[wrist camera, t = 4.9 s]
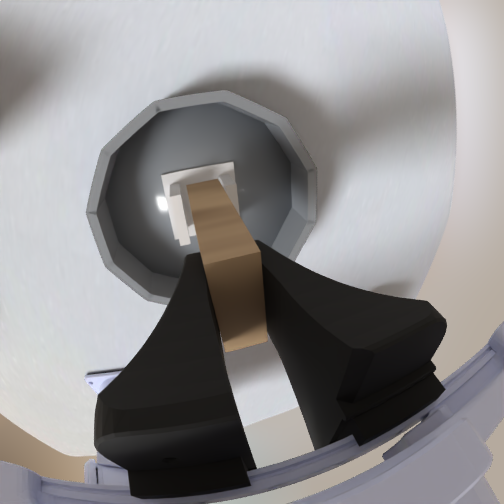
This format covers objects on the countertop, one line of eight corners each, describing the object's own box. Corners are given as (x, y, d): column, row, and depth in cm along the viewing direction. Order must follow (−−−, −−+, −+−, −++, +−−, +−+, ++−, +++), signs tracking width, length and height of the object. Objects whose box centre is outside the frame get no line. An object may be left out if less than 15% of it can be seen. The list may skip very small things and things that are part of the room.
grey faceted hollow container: (296, 261, 22) (313, 282, 20) (133, 297, 20) (131, 324, 17) (292, 88, 15) (314, 86, 13) (81, 123, 13) (64, 127, 10)
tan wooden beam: (228, 246, 16) (267, 341, 10) (200, 252, 15) (225, 352, 10) (218, 178, 13) (260, 251, 8) (186, 185, 13) (203, 264, 7)
